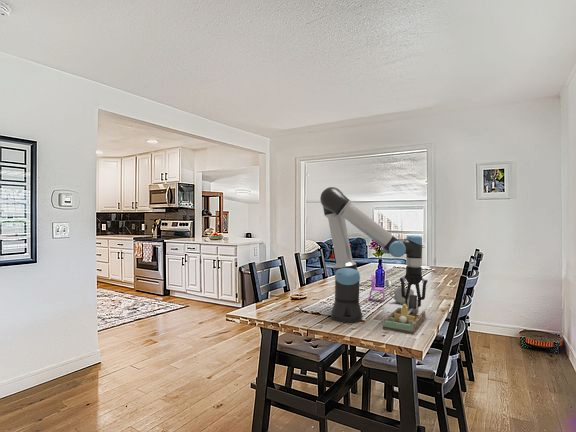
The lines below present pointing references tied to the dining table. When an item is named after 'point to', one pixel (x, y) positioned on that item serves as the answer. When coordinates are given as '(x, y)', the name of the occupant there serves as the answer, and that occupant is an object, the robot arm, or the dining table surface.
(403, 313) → the kicker
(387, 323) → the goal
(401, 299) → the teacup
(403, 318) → the ball
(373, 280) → the chair
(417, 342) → the dining table surface
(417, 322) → the tray
